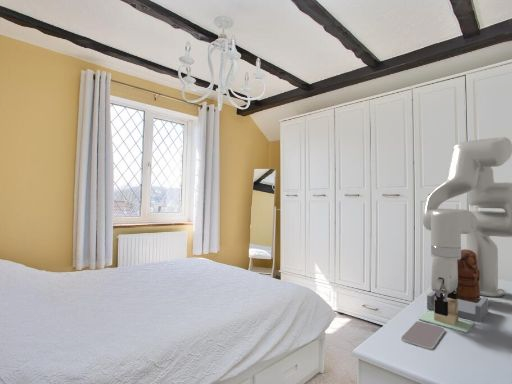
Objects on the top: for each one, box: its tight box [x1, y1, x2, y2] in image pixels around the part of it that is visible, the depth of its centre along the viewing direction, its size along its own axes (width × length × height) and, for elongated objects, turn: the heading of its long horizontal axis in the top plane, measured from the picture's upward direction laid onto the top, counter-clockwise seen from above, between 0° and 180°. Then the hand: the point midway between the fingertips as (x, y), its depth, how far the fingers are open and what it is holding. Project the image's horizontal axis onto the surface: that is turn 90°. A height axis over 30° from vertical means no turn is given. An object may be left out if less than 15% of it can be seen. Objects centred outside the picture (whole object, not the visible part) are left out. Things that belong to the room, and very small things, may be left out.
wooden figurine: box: [455, 248, 481, 303], centre depth 107 cm, size 12×6×18 cm, turn 129°
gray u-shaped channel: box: [426, 289, 489, 323], centre depth 97 cm, size 12×14×4 cm
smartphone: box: [400, 320, 446, 351], centre depth 79 cm, size 7×1×15 cm
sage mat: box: [418, 310, 475, 334], centre depth 88 cm, size 9×12×1 cm
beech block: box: [433, 298, 459, 325], centre depth 88 cm, size 5×5×6 cm
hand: (446, 309), depth 88 cm, fingers open, 9 cm apart
